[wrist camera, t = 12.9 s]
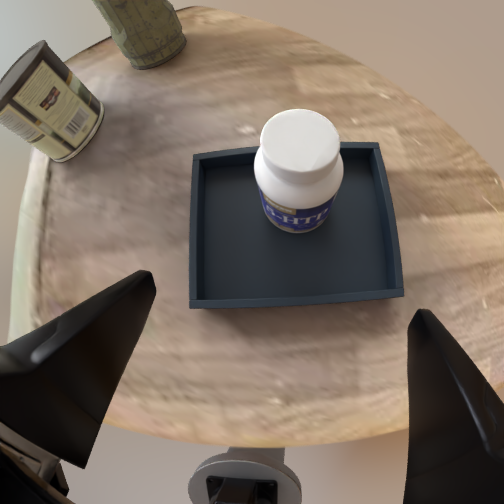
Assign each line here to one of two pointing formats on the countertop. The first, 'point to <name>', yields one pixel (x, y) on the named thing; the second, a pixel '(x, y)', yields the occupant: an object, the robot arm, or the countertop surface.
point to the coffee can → (48, 104)
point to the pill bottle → (298, 169)
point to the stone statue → (144, 30)
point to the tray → (290, 238)
